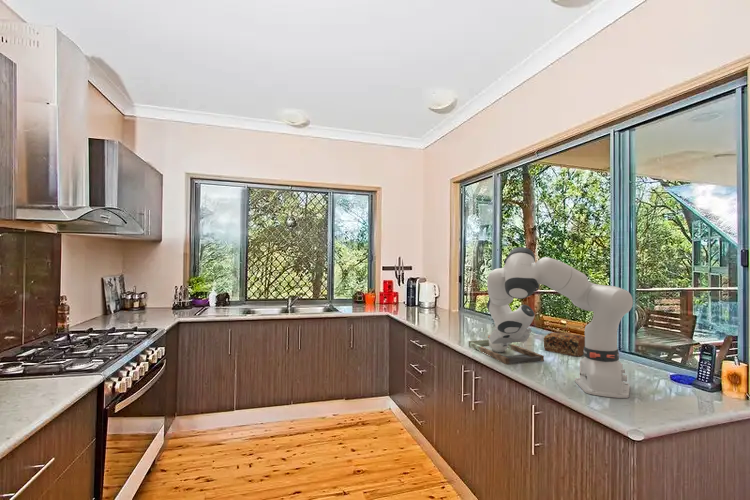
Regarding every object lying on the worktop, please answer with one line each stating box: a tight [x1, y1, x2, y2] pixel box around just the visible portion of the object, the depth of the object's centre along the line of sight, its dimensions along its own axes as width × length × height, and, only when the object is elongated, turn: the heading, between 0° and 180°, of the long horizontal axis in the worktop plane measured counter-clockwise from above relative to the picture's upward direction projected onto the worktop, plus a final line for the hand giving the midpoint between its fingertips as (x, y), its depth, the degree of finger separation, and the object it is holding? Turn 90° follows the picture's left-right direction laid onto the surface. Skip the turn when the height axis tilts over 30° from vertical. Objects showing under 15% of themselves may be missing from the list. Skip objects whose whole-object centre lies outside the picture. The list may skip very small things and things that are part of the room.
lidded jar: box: [487, 334, 509, 353], centre depth 209 cm, size 11×11×9 cm
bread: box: [543, 332, 585, 357], centre depth 204 cm, size 19×11×10 cm, turn 35°
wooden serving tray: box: [468, 339, 545, 365], centre depth 204 cm, size 38×20×3 cm, turn 14°
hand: (503, 345), depth 203 cm, fingers closed, pressing on lidded jar
